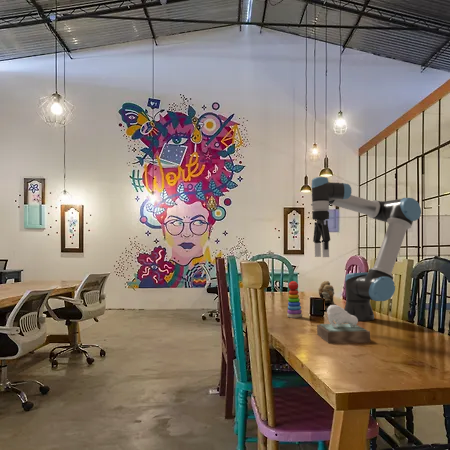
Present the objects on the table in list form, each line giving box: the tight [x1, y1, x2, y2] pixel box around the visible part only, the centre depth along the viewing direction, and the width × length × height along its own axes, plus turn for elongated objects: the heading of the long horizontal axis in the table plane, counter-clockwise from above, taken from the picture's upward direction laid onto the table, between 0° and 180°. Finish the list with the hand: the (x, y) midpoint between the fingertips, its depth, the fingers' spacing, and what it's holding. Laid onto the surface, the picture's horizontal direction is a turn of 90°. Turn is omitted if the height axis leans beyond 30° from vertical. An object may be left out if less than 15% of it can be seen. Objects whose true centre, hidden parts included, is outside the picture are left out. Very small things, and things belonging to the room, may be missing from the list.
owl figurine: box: [318, 280, 337, 312], centre depth 242 cm, size 18×12×17 cm, turn 164°
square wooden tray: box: [316, 323, 371, 344], centre depth 163 cm, size 16×16×4 cm
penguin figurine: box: [326, 304, 359, 328], centre depth 163 cm, size 6×8×12 cm
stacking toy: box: [286, 280, 303, 319], centre depth 217 cm, size 8×8×19 cm
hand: (321, 257), depth 189 cm, fingers open, 13 cm apart
